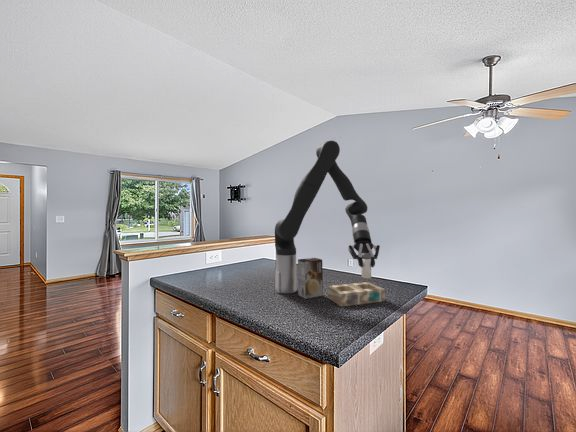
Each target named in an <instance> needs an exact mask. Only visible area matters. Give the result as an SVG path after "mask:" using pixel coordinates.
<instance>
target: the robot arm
mask: <svg viewBox="0 0 576 432" xmlns="http://www.w3.org/2000/svg"><path fill="white" fill-rule="evenodd" d="M340 151H341V149H340V145H339V143H338V142H337V141H336V140H327V141H325V142H323V143H321V144H320V145H318V146H317V148H316V151H315V152H316V153H315V155H316V157H317V159H316V161H315V163H314V165H313V166H312V167H311V168H310V170H309V171H308V172H307V173H306V174H305V175H304V177H303V178H302V179H301V182H300V183H299V185H298V187H297V189H296V191H295V194H294V197H293V201H292V206H291V207H290V209H289V211H288V213H287V214H286V216H285V218H283V219H280V220H278V221H277V223H276V224H275V226H274V245H275V246H274V247H275V254H276V256H275V257H276V259H275V260H276V268H275V271H274V273H275V274H274V275H275V277H274V283H275V284H274V285H275V291H276V293H278V294H292V293H295V292H297V248H296V245H295V238H296V236H297V235H298V233H299V231H300V228H301V225H302V223H303V220H304V218H305V216H306V214H307V212H308V211H309V209H310V208H311V206H312V204H313V202H314V200H315V198H316V197H317V195H318V192H319V190H320V189H321V186H322V184H324V181H325V179H326V176H327V175H328V174H329V176H330V178H331V179H332V181H333V182H334V185H335V186H336V188H337V190H338V192H339V194H340V196H341V198H342V199H343V200H344V201H350V200H351V201H353V202H351V203H348V204H347V205H346V206H345V213H346V215H347V217H348V218H349V220H350V222H351V223H350V224H351V232H352V239H353V245H351V244H350V245H348V247H347V248H348V252H349V253H350V255H351V257H352V259H353V260H357V263H358V267H360V268H361V267H363V262H362V258H361V253H371V268H374V267H375V266H376V260H378V256H379V254H380V253H379V252H380V247H381V246H380V245H379V244H377V245H374V244H373V242H372V239H371V238H372V237H371V233H370V229H369V226H368V222H367V218H366V216H365V215H364V214H366V213H367V212H368V205H367V202H365V201H364V200H363V199H362V197H360V195H359V194H358V193H357V191H356V190H355V187H354V186H353V184H352V181H350V179H349V177H348V176H347V175H346V174H345V173H344V172H343V171H342V170H341V168H340V167H339V165H338V163H337V161H336V160H337V159H338V157H339V155H340ZM355 251H356V252H357V253H356V252H355ZM373 251H374V252H375V253H373Z"/></svg>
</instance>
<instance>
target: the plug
mask: <svg viewBox="0 0 576 432" xmlns="http://www.w3.org/2000/svg"><path fill="white" fill-rule="evenodd" d="M361 258H362V262H363V267H360V268H361V278H363V279H371V278H372V267H371V253H361Z"/></svg>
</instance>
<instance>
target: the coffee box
mask: <svg viewBox="0 0 576 432" xmlns="http://www.w3.org/2000/svg"><path fill="white" fill-rule="evenodd" d="M323 270H324V269H323V259H322V258H316V257H306V258H299V259H297V278H298V280H297V282H298V283H297V284H298V285H297V286H298V289H297V290H298V296H299V297H301V298H302V299H312V298H317V297H323V296H324V286H323V284H324V283H323V282H324V281H323V279H324V278H323V277H324V276H323Z"/></svg>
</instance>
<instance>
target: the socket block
mask: <svg viewBox="0 0 576 432" xmlns="http://www.w3.org/2000/svg"><path fill="white" fill-rule="evenodd" d="M327 298H328V299H329V300H331V301H332V302H334V303H335V304H337V305H338V306H340V307H347V306H348V307H350V306H356V305H366V304H374V303H381V302H382V301H383V302H386V289H385V288H383V287H381V286H379V285H376V284H373V283H372V282H369V281H365V282H364V281H363V282H355V283H353V282H352V283H347V284H346V283H344V284H334V285H333V284H332V285H327Z"/></svg>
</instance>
